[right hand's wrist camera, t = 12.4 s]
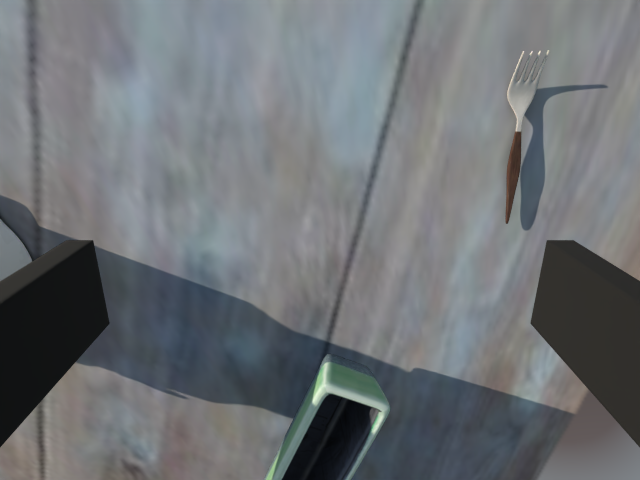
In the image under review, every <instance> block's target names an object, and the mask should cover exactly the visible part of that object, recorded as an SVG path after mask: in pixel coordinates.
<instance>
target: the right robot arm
mask: <svg viewBox="0 0 640 480" xmlns="http://www.w3.org/2000/svg"><path fill="white" fill-rule="evenodd" d="M108 324H109V319H108V313H107V308H106V303H105V298H104V293H103V288H102V283H101V278H100V273H99V268H98V263H97V258H96V253H95V248H94V243H93V240H66V241H65V242H63V243H62V244H60V245H58V246H57V247H55V248H53V249H52V250H50V251H49V252H47V253H45V254H44V255H42V256H40V257H39V258H37V259H36V260H34V261H32V262H31V263H29V264H27V265H26V266H24V267H22V268H21V269H19V270H18V271H16V272H14V273H13V274H11V275H9V276H8V277H6V278H5V279H3V280H1V281H0V447H1V446H2V445H3V444H4V442H5V441H6V440H7V439H8V438H9V437H10V436H11V434H12V433H13V432H14V431H15V430H16V429H17V428H18V427H19V425H20V424H21V423H22V422H23V421H24V420H25V419H26V417H27V416H28V415H29V414H30V413H31V412H32V411H33V410H34V408H35V407H36V406H37V405H38V404H39V403H40V402H41V400H42V399H43V398H44V397H45V396H46V395H47V394H48V393H49V391H50V390H51V389H52V388H53V387H54V386H55V385H56V383H57V382H58V381H59V380H60V379H61V378H62V377H63V376H64V374H65V373H66V372H67V371H68V370H69V369H70V368H71V366H72V365H73V364H74V363H75V362H76V361H77V360H78V358H79V357H80V356H81V355H82V354H83V353H84V352H85V351H86V349H87V348H88V347H89V346H90V345H91V344H92V343H93V341H94V340H95V339H96V338H97V337H98V336H99V335H100V334H101V332H102V331H103V330H104V329H105V328H106V327H107V326H108ZM531 324H532V326H533V327H534V328H535V329H536V330H537V331H538V332H539V334H540V335H541V336H542V337H543V338H544V339H545V340H546V341H547V343H548V344H549V345H550V346H551V347H552V348H553V349H554V351H555V352H556V353H557V354H558V355H559V356H560V357H561V358H562V360H563V361H564V362H565V363H566V364H567V365H568V366H569V368H570V369H571V370H572V371H573V372H574V373H575V374H576V376H577V377H578V378H579V379H580V380H581V381H582V382H583V383H584V385H585V386H586V387H587V388H588V389H589V390H590V391H591V393H592V394H593V395H594V396H595V397H596V398H597V399H598V400H599V402H600V403H601V404H602V405H603V406H604V407H605V408H606V410H607V411H608V412H609V413H610V414H611V415H612V416H613V417H614V419H615V420H616V421H617V422H618V423H619V424H620V425H621V427H622V428H623V429H624V430H625V431H626V432H627V433H628V434H629V436H630V437H631V438H632V439H633V440H634V441H635V442H636V444H637V445H638V446H639V447H640V281H639V280H637V279H635V278H634V277H632V276H631V275H629V274H627V273H626V272H624V271H622V270H621V269H619V268H618V267H616V266H614V265H613V264H611V263H609V262H608V261H606V260H604V259H603V258H601V257H600V256H598V255H596V254H595V253H593V252H591V251H590V250H588V249H587V248H585V247H583V246H582V245H580V244H578V243H577V242H575V241H574V240H547V243H546V248H545V253H544V258H543V263H542V268H541V273H540V278H539V283H538V288H537V293H536V298H535V303H534V308H533V313H532V318H531Z"/></svg>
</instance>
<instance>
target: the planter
mask: <svg viewBox="0 0 640 480" xmlns="http://www.w3.org/2000/svg"><path fill="white" fill-rule="evenodd" d="M389 412H390V405H389V402H388V400H387V398H386V396H385V395H384V393H383V391H382V389H381V388H380V386H379V384H378V382H377V381H376V379H375V377H374V376H373V374H372V373H371V371H370V369H369V368H368V367H366V366H364V365H361V364H359V363H356V362H353V361H350V360H348V359H345V358H342V357H339V356H336V355H333V354H327V355H326V356H325V358H324V359H323V361H322V363H321V365H320V367H319V369H318V371H317V373H316V375H315V377H314V379H313V381H312V383H311V385H310V387H309V389H308V391H307V393H306V395H305V397H304V399H303V401H302V403H301V405H300V407H299V409H298V411H297V413H296V415H295V417H294V419H293V421H292V423H291V425H290V427H289V429H288V431H287V433H286V435H285V437H284V439H283V441H282V443H281V445H280V448H279V450H278V452H277V454H276V456H275V458H274V460H273V462H272V464H271V466H270V468H269V470H268V472H267V474H266V476H265V478H264V480H351V478H352V477H353V475H354V473H355V472H356V470H357V468H358V467H359V465H360V463H361V461H362V460H363V458H364V456H365V455H366V453H367V451H368V449H369V448H370V446H371V444H372V443H373V441H374V439H375V437H376V436H377V434H378V432H379V431H380V429H381V427H382V425H383V424H384V422H385V420H386V418H387V416H388V414H389Z"/></svg>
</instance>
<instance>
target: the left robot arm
mask: <svg viewBox="0 0 640 480" xmlns="http://www.w3.org/2000/svg"><path fill="white" fill-rule="evenodd" d="M31 262H32V259H31V257H30V255H29V253H28V251H27V249H26V248H25V246H24V245H23V243H22V242H21V241H20V239H19V238H18V237H17V236H16V235H15V234H14V232H13V231H12V230H11V229H10V228H9V227H7V226H6V225H5V224H4V222H3V221H2V220H1V219H0V281H1V280H3V279H5V278H6V277H8V276H9V275H11V274H13V273H14V272H16V271H18V270H19V269H21V268H22V267H24V266H26V265H27V264H29V263H31Z"/></svg>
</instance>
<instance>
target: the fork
mask: <svg viewBox="0 0 640 480" xmlns="http://www.w3.org/2000/svg"><path fill="white" fill-rule="evenodd" d="M532 52H533V51H531V53H530V55H529V58H528V60H527V62H526V64H525V67H524V69H523V71H522V74H521V76H520V78H519V80H518V81H516V77H517V73H518V70H519V67H520V64H521V61H522V57H523V55H524V51H523V53H522V55H521V57H520V60H519V62H518V64H517V67H516V69H515V72H514V74H513V77H512V80H511V82H510V85H509V88H508V93H507V96H508V101H509V103H510V105H511V107H512V109H513V111H514V113H515V115H516V118H517V126H516V131H515V135H514V139H513V143H512V147H511V151H510V156H509V161H508V166H507V198H506V224H508V221H509V217H510V213H511V209H512V204H513V199H514V195H515V190H516V186H517V182H518V177H519V172H520V164H521V125H522V119H523V116H524V114H525V112H526V111H527V109H528V107H529V105H530V104H531V102H532V100H533V98H534V96H535V93H536V90H537V86H538V82H539V78H540V75H541V72H542V69H543V67H544V64H545V61H546V58H547V56H548V53H549V50H548V52H547V54H546V56H545V58H544V60H543V62H542V64H541V66H540V68H539V71H538V73H537V75H536V77H535V79H534V80H533V81H532V76H533V73H534V70H535V67H536V64H537V61H538V58H539V55H540V53H541V51H540V52H539V54H538V56H537V58H536V60H535V62H534V64H533V66H532V69H531V71H530V73H529V76H528V78H527V80H526V81H524V76H525V73H526V70H527V67H528V64H529V61H530V58H531V55H532Z"/></svg>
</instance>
